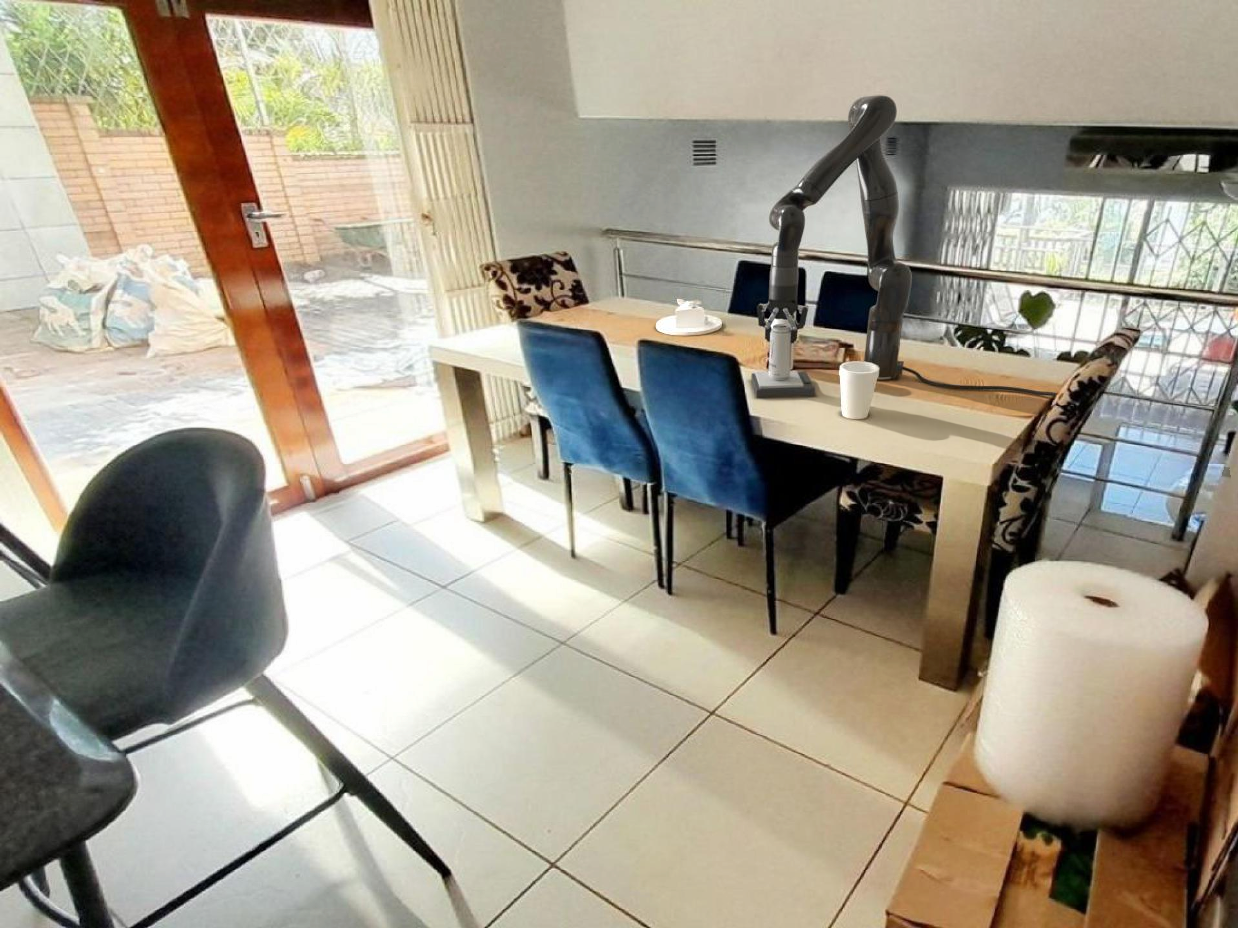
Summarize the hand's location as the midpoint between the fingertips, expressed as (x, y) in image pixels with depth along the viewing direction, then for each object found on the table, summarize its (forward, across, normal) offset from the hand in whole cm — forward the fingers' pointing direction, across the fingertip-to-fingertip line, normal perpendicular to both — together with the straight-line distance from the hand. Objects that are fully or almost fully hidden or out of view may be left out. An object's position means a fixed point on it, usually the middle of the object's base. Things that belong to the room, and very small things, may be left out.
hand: (780, 341), depth 197 cm
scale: (+14, +1, 0) cm, 14 cm away
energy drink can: (+11, 0, 0) cm, 11 cm away
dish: (+14, -46, +56) cm, 74 cm away
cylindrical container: (+14, -3, +18) cm, 23 cm away
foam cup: (+14, +23, -14) cm, 30 cm away
